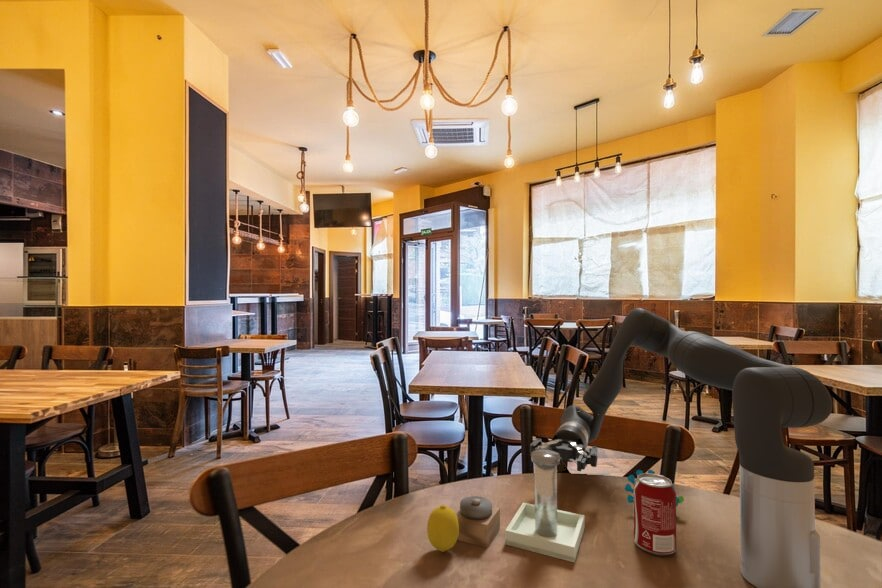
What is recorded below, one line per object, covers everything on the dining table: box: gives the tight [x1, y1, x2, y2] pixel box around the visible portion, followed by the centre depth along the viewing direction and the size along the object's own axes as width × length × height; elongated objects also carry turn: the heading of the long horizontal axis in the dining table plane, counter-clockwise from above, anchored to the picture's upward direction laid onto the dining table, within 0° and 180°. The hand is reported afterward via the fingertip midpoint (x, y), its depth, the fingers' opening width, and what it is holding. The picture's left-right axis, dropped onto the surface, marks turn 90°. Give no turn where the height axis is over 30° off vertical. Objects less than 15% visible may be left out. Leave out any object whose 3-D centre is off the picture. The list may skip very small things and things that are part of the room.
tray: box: [504, 502, 586, 563], centre depth 80 cm, size 12×12×2 cm
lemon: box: [426, 504, 459, 553], centre depth 75 cm, size 6×6×8 cm
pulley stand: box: [454, 495, 501, 549], centre depth 80 cm, size 7×7×6 cm
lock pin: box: [530, 450, 561, 537], centre depth 80 cm, size 5×5×14 cm
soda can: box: [633, 472, 677, 557], centre depth 76 cm, size 7×7×12 cm
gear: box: [624, 469, 685, 508], centre depth 90 cm, size 11×6×10 cm
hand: (557, 462), depth 90 cm, fingers open, 8 cm apart
